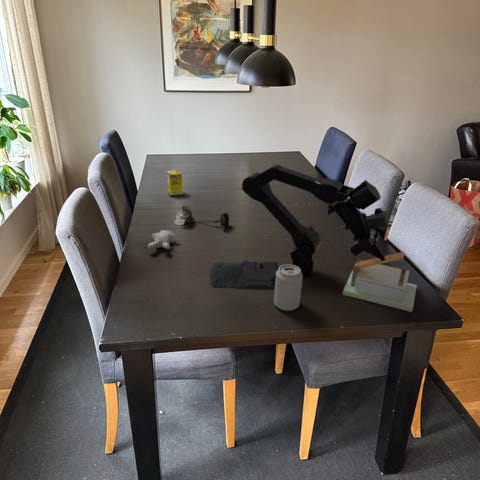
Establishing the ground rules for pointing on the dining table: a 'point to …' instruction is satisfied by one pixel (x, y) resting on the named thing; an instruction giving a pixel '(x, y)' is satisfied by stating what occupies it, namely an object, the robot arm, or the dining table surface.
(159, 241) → the bunny figurine
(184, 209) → the artificial flower
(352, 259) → the dining table surface
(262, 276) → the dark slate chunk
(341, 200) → the robot arm
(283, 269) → the can
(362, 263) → the strap
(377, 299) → the board
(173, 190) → the supplement box
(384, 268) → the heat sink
